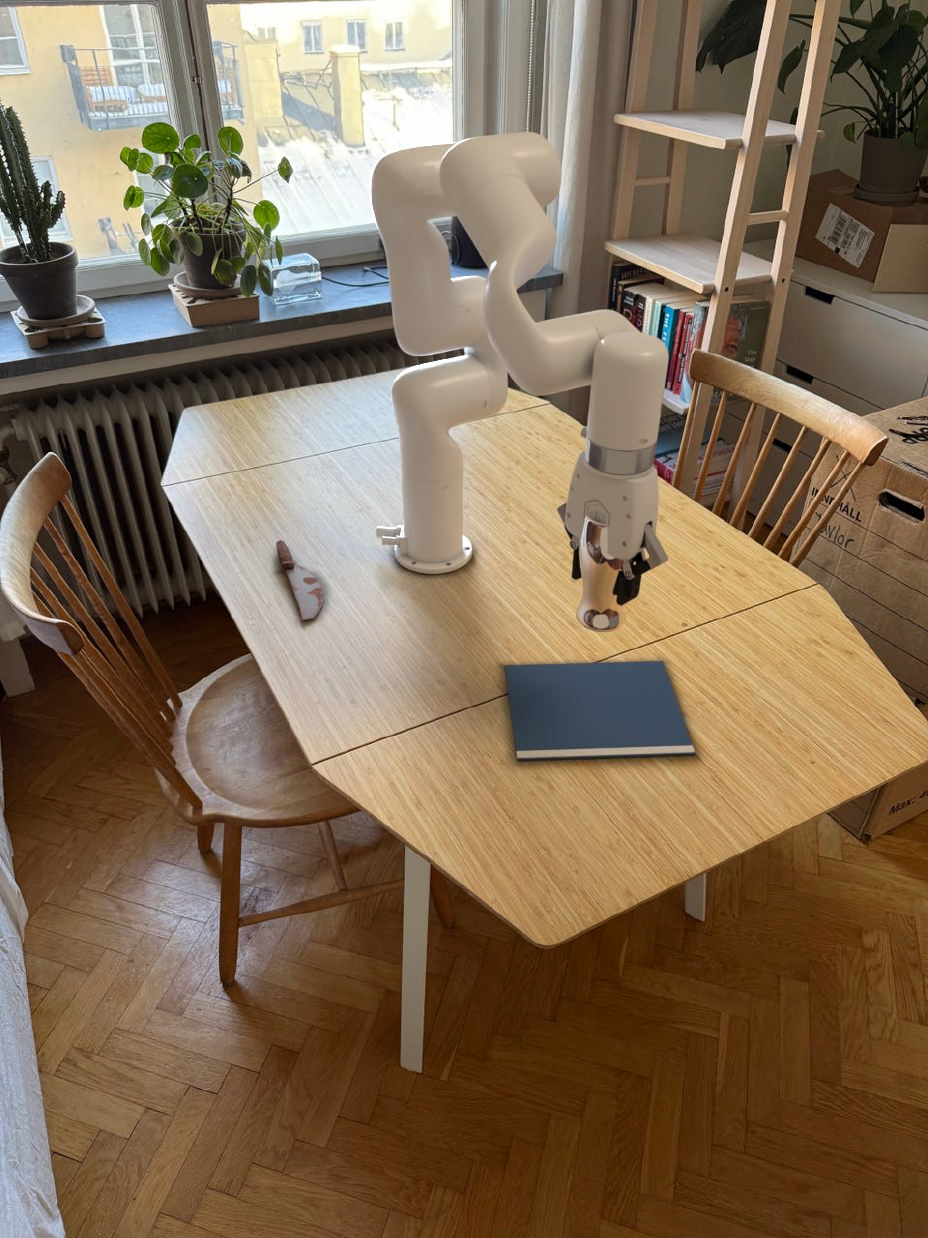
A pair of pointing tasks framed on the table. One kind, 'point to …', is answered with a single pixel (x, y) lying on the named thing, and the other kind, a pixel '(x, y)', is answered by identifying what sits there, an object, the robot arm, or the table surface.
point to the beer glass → (599, 580)
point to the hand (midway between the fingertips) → (604, 586)
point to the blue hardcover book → (595, 711)
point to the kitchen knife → (301, 584)
